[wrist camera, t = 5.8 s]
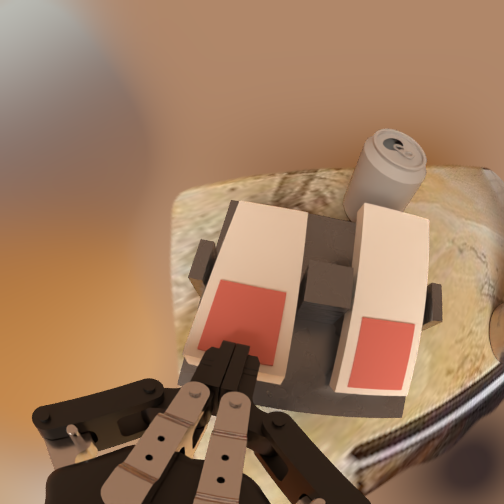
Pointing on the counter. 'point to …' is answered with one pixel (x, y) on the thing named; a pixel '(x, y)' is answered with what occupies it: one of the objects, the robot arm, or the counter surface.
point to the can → (386, 173)
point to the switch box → (315, 324)
